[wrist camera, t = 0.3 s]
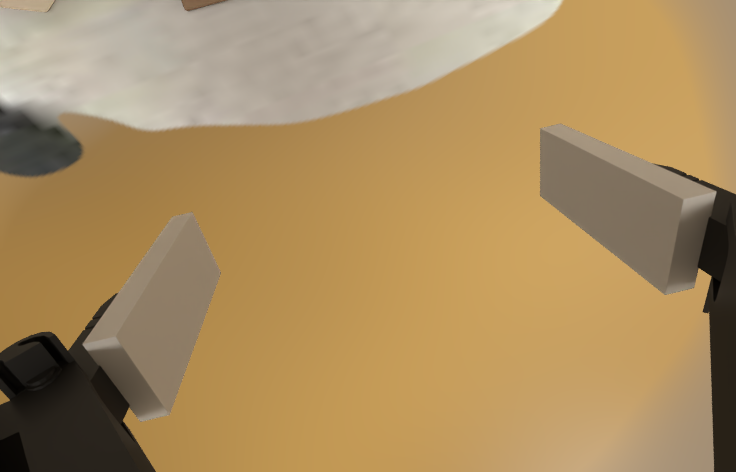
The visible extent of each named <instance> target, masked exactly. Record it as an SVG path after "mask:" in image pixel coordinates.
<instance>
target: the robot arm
mask: <svg viewBox="0 0 736 472" xmlns="http://www.w3.org/2000/svg"><path fill="white" fill-rule="evenodd" d="M540 196H541V197H542V198H543V199H545V200H546V201H547V202H549V203H550V204H551V205H553V206H554V207H555V208H556V209H557V210H559V211H560V212H561V213H562V214H564V215H565V216H566V217H567V218H569V219H570V220H571V221H572V222H574V223H575V224H576V225H578V226H579V227H580V228H581V229H583V230H584V231H585V232H586V233H588V234H589V235H590V236H592V237H593V238H594V239H595V240H596V241H598V242H599V243H600V244H601V245H603V246H604V247H605V248H607V249H608V250H609V251H610V252H612V253H613V254H614V255H615V256H617V257H618V258H619V259H620V260H622V261H623V262H624V263H626V264H627V265H628V266H629V267H631V268H632V269H633V270H634V271H635V272H637V273H638V274H639V275H641V276H642V277H643V278H644V279H646V280H647V281H648V282H649V283H651V284H652V285H653V286H654V287H656V288H657V289H658V290H659V291H661V292H662V293H663V294H665V295H667V294H671V293H676V292H680V291H683V290H688V289H692V288H694V285H695V281H696V277H697V273H698V268H700V269H701V270H703V271H705V272H706V273H707V274H709V275H711V276H712V277H711V281H710V285H709V289H708V293H707V297H706V301H705V305H704V309H703V312H704V313H709V316H710V317H709V319H710V351H711V381H712V414H713V446H714V472H736V194H734V193H731V192H729V191H727V190H724V189H722V188H719V187H717V186H715V185H712V184H710V183H707V182H705V181H703V180H701V181H699V179H698V178H696V177H693V176H691V175H687V174H686V173H684V172H682V171H679V170H677V169H674V168H672V167H668V166H662V165H657V164H653V163H650V162H647V161H645V160H643V159H641V158H638V157H636V156H634V155H632V154H629V153H627V152H625V151H622V150H620V149H618V148H615V147H613V146H610V145H608V144H606V143H604V142H602V141H599V140H597V139H595V138H592V137H590V136H588V135H586V134H583V133H581V132H579V131H576V130H574V129H572V128H569V127H567V126H565V125H563V124H557V125H553V126H549V127H544V128H541V129H540ZM220 274H221V272H220V270H219V268H218V265H217V264H216V261H215V259H214V257H213V255H212V253H211V250H210V248H209V246H208V245H207V242H206V240H205V238H204V236H203V233H202V231H201V229H200V227H199V225H198V223H197V221H196V218H195V216H194V214H193V212H191V213H187V214H182V215H179V216H174V217H172V218H171V219H170V221H169V222H168V224H167V225H166V227H165V228H164V229H163V231H162V232H161V233H160V235H159V236H158V238H157V240H156V241H155V242H154V243H153V245H152V246H151V248H150V249H149V251H148V252H147V253H146V255H145V256H144V258H143V259H142V260H141V262H140V263H139V265H138V266H137V267H136V269H135V270H134V272H133V273H132V275H131V276H130V278H129V279H128V280H127V282H126V283H125V284H124V286H123V287H122V289H121V290H120V292H119V293H117V294H115V295H114V296H112V297H111V298H110V299H109V300H108V301H106V302H105V303H104V304H103V305H102V306H101V307H100V308H99V310H98V311H97V312H96V314H95V315H94V316H93V320H91V321H90V322H89V323H88V325H87V326H86V327H85V330H83V331H82V333H81V334H80V336H79V337H78V338H77V340H76V341H75V342H74V344H73V345H72V346H71V348H70V349H69V350H68V351H67V349H66V348H65V347H64V346H63V344H62V343H61V342H60V340H59V339H58V338H57V336H56V335H55V334H53V333H52V332H41V333H37V334H34V335H31V336H29V337H26V338H24V339H22V340H20V341H18V342H16V343H14V344H13V345H11V346H9V347H8V348H6V349H5V350H3V351H2V352H1V353H0V390H1V391H2V392H3V393H4V394H5V395H6V396H7V397H8V398H9V399H10V401H8V402H6V403H4V404H1V405H0V472H156V471H155V469H154V468H153V466H152V465H151V463H150V461H149V460H148V459H147V457H146V455H145V454H144V452H143V450H142V449H141V447H140V446H139V444H138V442H137V441H136V439H135V438H134V436H133V435H132V433H131V431H130V430H129V429H128V427H127V426H126V424H125V423H124V422H123V419H124V417H125V415H126V412H127V410H128V408H129V407H130V409H131V410H132V411H133V413H134V414H135V415H136V417H137V418H138V419H139V421H140V422H142V421H146V420H150V419H154V418H158V417H163V416H167V415H170V412H171V409H172V406H173V404H174V401H175V398H176V395H177V393H178V390H179V387H180V384H181V382H182V379H183V376H184V373H185V371H186V368H187V365H188V362H189V359H190V357H191V354H192V351H193V348H194V346H195V343H196V340H197V338H198V335H199V332H200V329H201V326H202V324H203V321H204V318H205V315H206V313H207V310H208V307H209V304H210V302H211V299H212V296H213V293H214V291H215V288H216V285H217V282H218V280H219V277H220Z"/></svg>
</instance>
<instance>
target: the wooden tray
mask: <svg viewBox="0 0 736 472" xmlns="http://www.w3.org/2000/svg"><path fill="white" fill-rule="evenodd" d="M181 1H182V3H183V6H184V8H185V10H187V11H190V10H193V9H197V8H201V7H204V6H208V5H211V4H215V3H219V2H222V1H226V0H181Z"/></svg>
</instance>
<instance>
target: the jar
mask: <svg viewBox="0 0 736 472" xmlns="http://www.w3.org/2000/svg"><path fill="white" fill-rule="evenodd" d="M54 1H55V0H0V7H2V8H11V9H20V10H29V11H38V12H47V11H48V10H49V9H50V7H51V6H52V4H53V3H54Z"/></svg>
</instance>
